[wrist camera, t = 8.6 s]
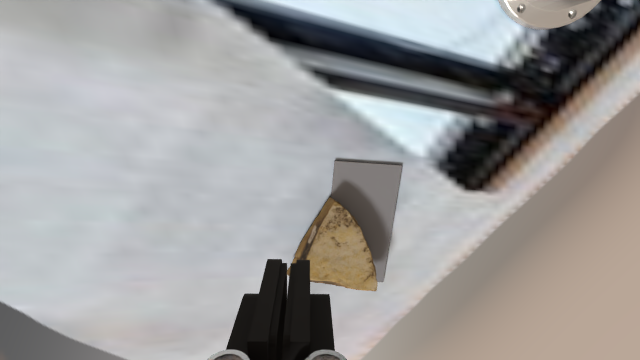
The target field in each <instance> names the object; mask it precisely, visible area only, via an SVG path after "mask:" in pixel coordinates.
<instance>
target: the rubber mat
mask: <svg viewBox="0 0 640 360" xmlns="http://www.w3.org/2000/svg"><path fill="white" fill-rule="evenodd" d="M401 170H402V165H393V164H378V163H364V162H349V161H335V163H334V173H333V184H332V194H331V198H332V199H334V200H335V201H337V202H339V203H340V204H341V205H342V206H343V207H344V208H345V209H347V210H348V211H349V212H350V214H351V215H353V216H354V218H355V219H356V221H357V223H358V225H359V226H360V227H361V230H362V233H363V235H364V237H365V240H366V242H367V244H368V246H369V248H370V251H371V254H372V258H373V263H374V265H375V268H376V279H377V282H383V280H384V274H385V268H386V262H387V256H388V250H389V243H390V237H391V231H392V225H393V219H394V213H395V207H396V201H397V194H398V188H399V182H400V176H401Z"/></svg>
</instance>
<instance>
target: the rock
mask: <svg viewBox="0 0 640 360" xmlns="http://www.w3.org/2000/svg"><path fill="white" fill-rule="evenodd" d="M296 260H310V282H315V283H325V284H332V285H336V286H343V287H346V288H351V289H356V290H367V291H368V290H371V291H376V290H377V279H376V268H375V265H374V263H373V258H372V254H371V251H370V248H369V246H368V244H367V242H366V240H365V237H364V235H363V233H362V230H361V227H360V226H359V225H358V223H357V221H356V219H355V218H354V216H353V215H351V214H350V212H349V211H348V210H347V209H345V208H344V207H343V206H342V205H341V204H340V203H339V202H337V201H335V200H334V199H332V198H331V197H329V199H328V200H327V202H326V203H325V205H324V206H323V208H322V210H321V212H320V214H319V215H318V216H317V217H316V219H315V220H314V222H313V224H312V226H311V227H310V228H309V230H308V231H307V233H306V234H305V236H304V238H303V240H302V241H301V243H300V245H299V247H298V249H297V251H296V254H295V258H294V259H293V262H292V263H296ZM290 268H291V266H290ZM290 268H289V269H288V270H287V275H289V276H290Z"/></svg>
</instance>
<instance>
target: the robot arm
mask: <svg viewBox="0 0 640 360" xmlns="http://www.w3.org/2000/svg"><path fill="white" fill-rule="evenodd" d="M498 1H499V3H500V5H501V7H502V9H503V10H504V11H505V13H506V14H507V15H508V16H509V17H510V18H511V19H512V20H514V21H515V22H516V23H518V24H520V25H522V26H524V27H527V28H531V29H536V30H547V29H552V28H557V27H561V26H564V25H567V24H570V23H572V22H574V21H576V20H578V19H580V18H581V17H583V16H584V15H585V14H587V13H588V12H589V11H591V10H592V9H593V8H594V7H595V6H596V5H597V4H598V3H599V2H600V1H601V0H498ZM207 360H347V359H346V358H345V357H344V356H343V355H341V354H340V353H338V352H336V351H335V349H334V338H333V327H332V316H331V305H330V296H329V294H310V260H296V263H291V268H290V277H289V286H288V295H287V263H282V259H268V260H267V264H266V268H265V272H264V276H263V280H262V284H261V288H260V292H259V294H244V296H243V299H242V302H241V305H240V308H239V311H238V314H237V317H236V320H235V323H234V327H233V330H232V333H231V336H230V339H229V342H228V345H227V348H226V350H224V351H220V352H218V353H216V354H214V355H212V356H211V357H209V358H208V359H207Z"/></svg>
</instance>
